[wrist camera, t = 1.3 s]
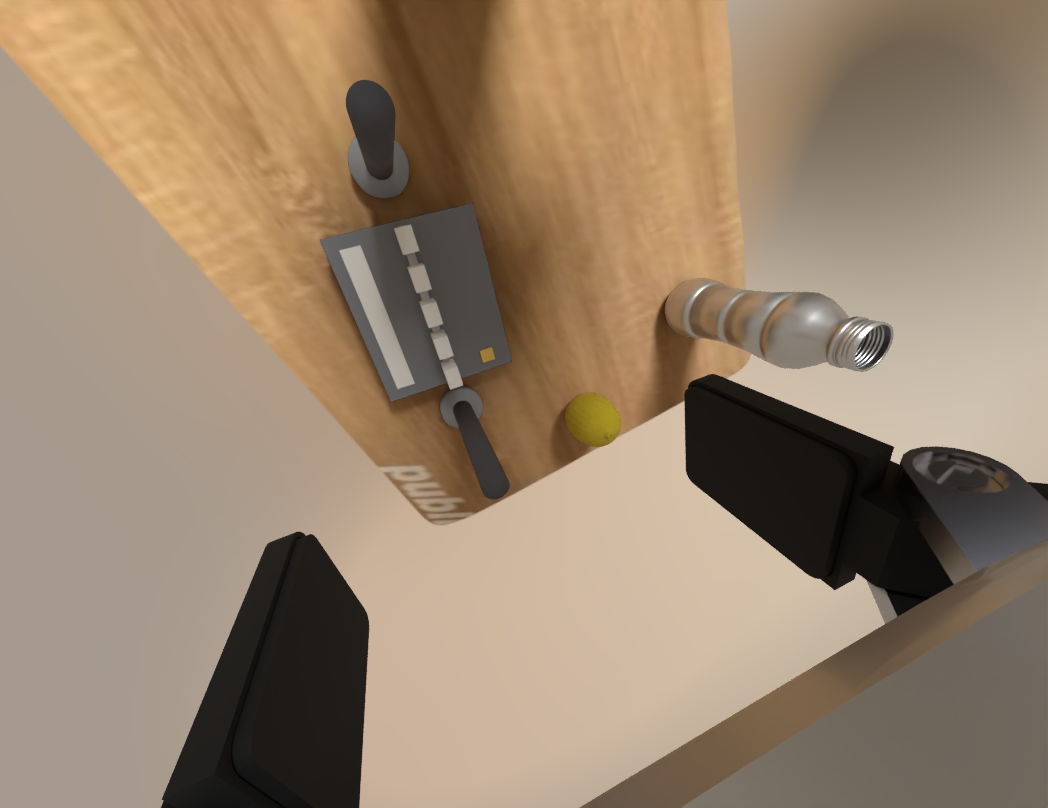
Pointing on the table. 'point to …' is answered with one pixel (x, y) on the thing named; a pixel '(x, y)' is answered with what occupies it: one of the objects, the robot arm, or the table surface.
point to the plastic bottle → (778, 325)
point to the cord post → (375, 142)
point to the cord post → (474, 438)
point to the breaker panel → (393, 305)
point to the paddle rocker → (428, 305)
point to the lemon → (593, 419)
